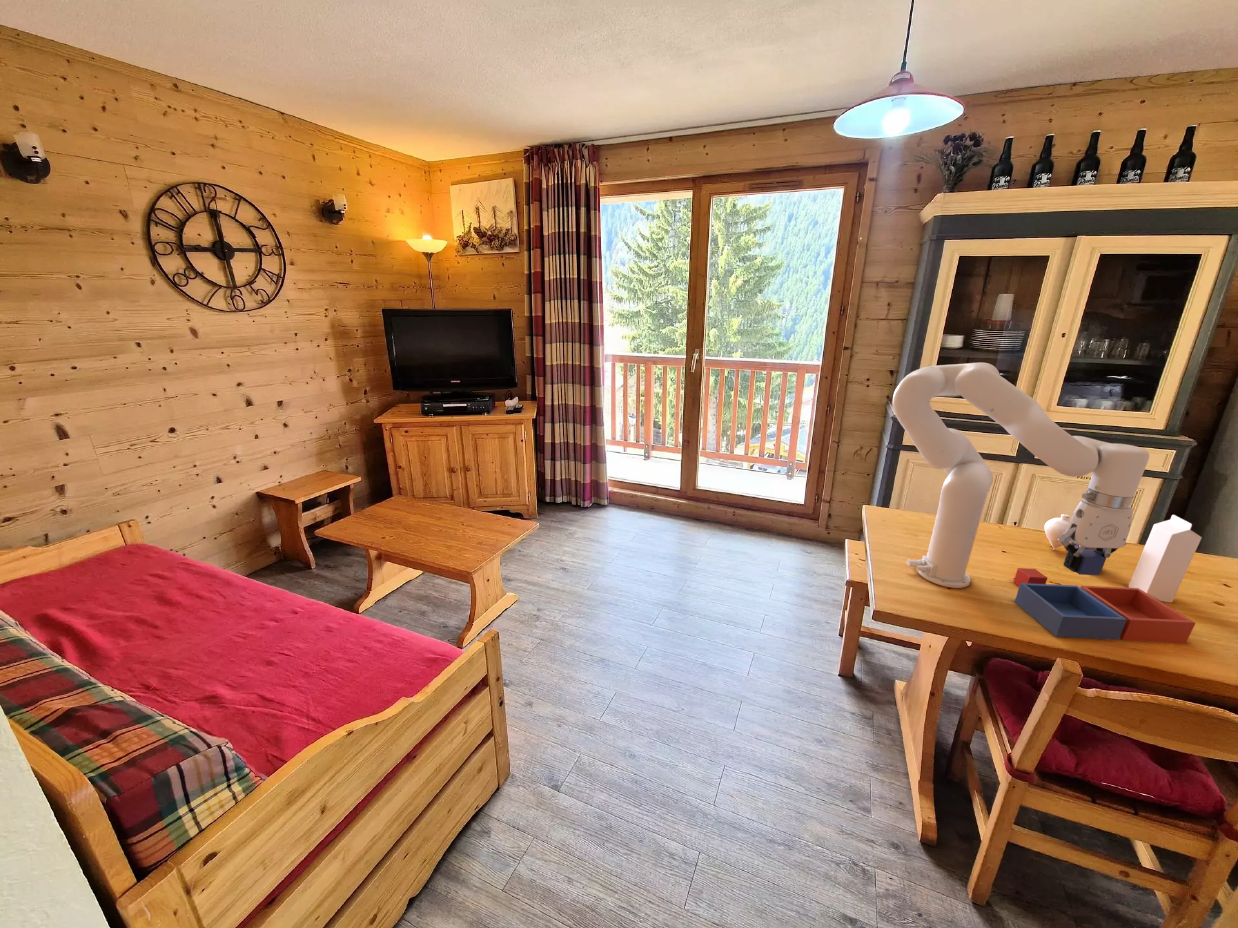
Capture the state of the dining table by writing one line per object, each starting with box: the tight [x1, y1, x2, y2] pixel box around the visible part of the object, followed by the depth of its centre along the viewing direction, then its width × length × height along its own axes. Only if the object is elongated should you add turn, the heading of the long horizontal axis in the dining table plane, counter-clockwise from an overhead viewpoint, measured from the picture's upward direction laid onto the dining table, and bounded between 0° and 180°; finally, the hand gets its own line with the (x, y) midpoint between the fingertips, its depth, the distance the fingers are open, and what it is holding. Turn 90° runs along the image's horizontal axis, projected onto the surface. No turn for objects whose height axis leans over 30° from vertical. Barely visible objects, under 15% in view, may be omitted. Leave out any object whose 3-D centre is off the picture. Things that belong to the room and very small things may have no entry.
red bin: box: [1079, 585, 1196, 644], centre depth 115 cm, size 14×14×6 cm
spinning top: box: [1043, 513, 1072, 551], centre depth 148 cm, size 8×8×12 cm
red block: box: [1013, 567, 1048, 587], centre depth 130 cm, size 4×4×4 cm
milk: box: [1127, 514, 1202, 603], centre depth 124 cm, size 6×6×22 cm
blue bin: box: [1014, 583, 1127, 641], centre depth 116 cm, size 14×14×6 cm
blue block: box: [1075, 549, 1107, 576], centre depth 114 cm, size 4×4×4 cm
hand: (1081, 568), depth 115 cm, fingers closed on blue block, 4 cm apart
